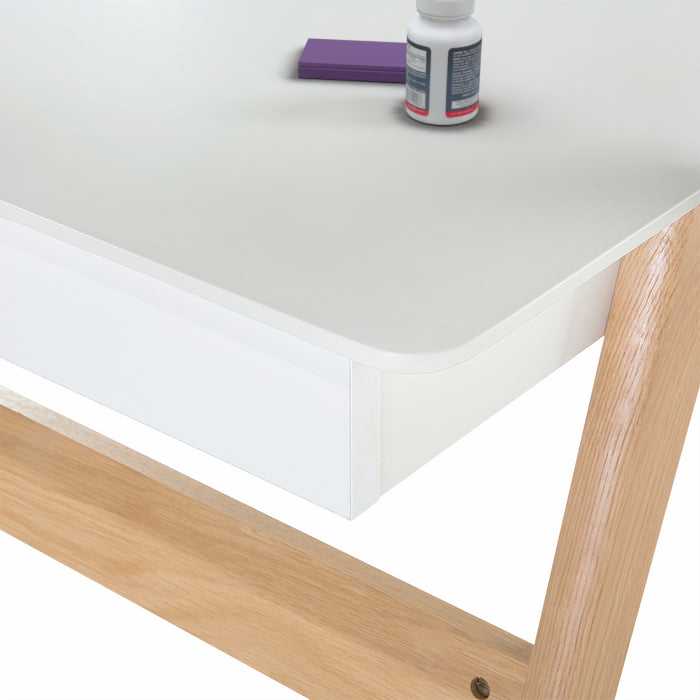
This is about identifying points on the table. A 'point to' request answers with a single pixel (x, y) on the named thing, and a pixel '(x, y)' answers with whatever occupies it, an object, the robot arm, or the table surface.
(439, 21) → the pill bottle
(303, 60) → the purple box
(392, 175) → the table surface
